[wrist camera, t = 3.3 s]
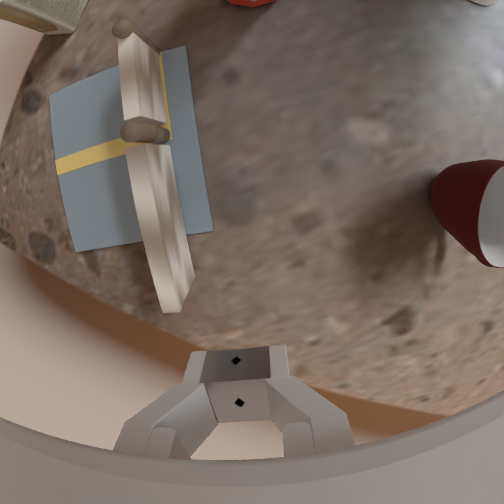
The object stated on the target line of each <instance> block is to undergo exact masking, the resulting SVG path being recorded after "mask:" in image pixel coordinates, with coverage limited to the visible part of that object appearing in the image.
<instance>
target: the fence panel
mask: <svg viewBox="0 0 504 504" xmlns="http://www.w3.org/2000/svg"><path fill="white" fill-rule="evenodd" d="M125 152H126V158H127V164H128V170H129V176H130V181H131V187H132V192H133V197H134V202H135V207H136V212H137V216H138V221H139V225H140V230H141V234H142V238H143V242H144V247H145V251H146V255H147V259H148V262H149V266H150V270H151V274H152V277H153V281H154V285H155V288H156V292H157V295H158V299H159V302H160V305H161V309H162V312H163V313H173V312H181V309H182V305H183V302H184V300H185V298H186V296H187V294H188V292H189V289H190V287H191V285H192V283H193V281H194V279H195V274H194V270H193V265H192V261H191V256H190V251H189V247H188V242H187V237H186V232H185V227H184V222H183V217H182V212H181V207H180V201H179V196H178V190H177V185H176V179H175V173H174V167H173V161H172V155H171V149H170V145H150V144H142V145H138V146H134V147H130V148H127V149H125Z"/></svg>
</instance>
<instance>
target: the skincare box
mask: <svg viewBox="0 0 504 504" xmlns="http://www.w3.org/2000/svg"><path fill="white" fill-rule="evenodd" d="M87 2H88V0H0V19H3V20H7V21H10V22H13V23H16V24H19V25H22V26H25V27H28V28H31V29H34V30H36V31H39V32H42V33H44V34H47V35H55V34H68V33H73V32H74V31H75V29H76V26H77V24H78V22H79V20H80V17H81V15H82V13H83V11H84V8H85V6H86V4H87Z"/></svg>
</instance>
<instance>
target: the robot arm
mask: <svg viewBox="0 0 504 504" xmlns="http://www.w3.org/2000/svg"><path fill="white" fill-rule="evenodd" d="M471 1H473V2H475V3H478V4H481V5H486V6H489V5H493V4H494V3H495V2H496V1H497V0H471ZM260 420H272V422H273V423H274V424H275V425H276V426H277V427H278V429H279V430H280V431H281V432H282V433H283V443H284V457H280V458H267V459H251V460H191V458H190V456H191V455H192V454H193V453H194V452H195V451H196V450H197V448H198V447H199V446H200V445H201V444H202V443H203V441H204V440H205V439H206V438H207V437H208V436H209V434H210V433H211V432H212V431H213V429H214V428H215V427H216V426H217V425H218V423H224V422H240V421H260ZM0 504H504V390H503V391H502V392H500V393H498V394H496V395H494V396H492V397H490V398H488V399H486V400H484V401H482V402H480V403H478V404H476V405H474V406H472V407H469V408H467V409H465V410H463V411H461V412H458V413H456V414H453V415H451V416H449V417H446V418H444V419H441V420H439V421H436V422H433V423H431V424H428V425H425V426H422V427H419V428H416V429H414V430H411V431H408V432H404V433H401V434H398V435H394V436H391V437H387V438H384V439H380V440H376V441H372V442H368V443H364V444H360V445H355V443H354V439H353V436H352V432H351V429H350V425H349V422H348V418H347V415H346V413H345V412H343V411H342V410H341V409H339V408H338V407H336V406H335V405H334V404H332V403H331V402H329V401H328V400H327V399H325V398H324V397H322V396H321V395H320V394H318V393H317V392H316V391H314V390H313V389H312V388H310V387H309V386H308V385H306V384H305V383H304V382H302V381H301V380H300V379H298V378H297V377H296V376H290V374H289V366H288V359H287V351H286V344H285V343H282V344H275V345H269V346H264V347H255V348H246V349H229V350H210V351H194V352H192V353H191V355H190V358H189V361H188V364H187V368H186V371H185V374H184V377H183V381H182V384H176V385H175V386H174V387H172V388H171V389H170V390H168V391H167V392H166V393H165V394H163V395H162V396H160V397H159V398H158V399H157V400H155V401H154V402H152V403H151V404H150V405H148V406H147V407H146V408H144V409H143V410H142V411H140V412H139V413H137V414H136V415H135V416H133V417H132V418H130V419H129V420H128V421H126V422H125V423H124V426H123V428H122V430H121V432H120V435H119V437H118V439H117V442H116V444H115V447H114V449H113V451H111V450H107V449H101V448H97V447H92V446H88V445H84V444H79V443H75V442H72V441H68V440H64V439H60V438H57V437H53V436H50V435H47V434H44V433H41V432H38V431H35V430H32V429H29V428H26V427H24V426H21V425H18V424H16V423H13V422H11V421H8V420H6V419H3V418H1V417H0Z"/></svg>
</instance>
